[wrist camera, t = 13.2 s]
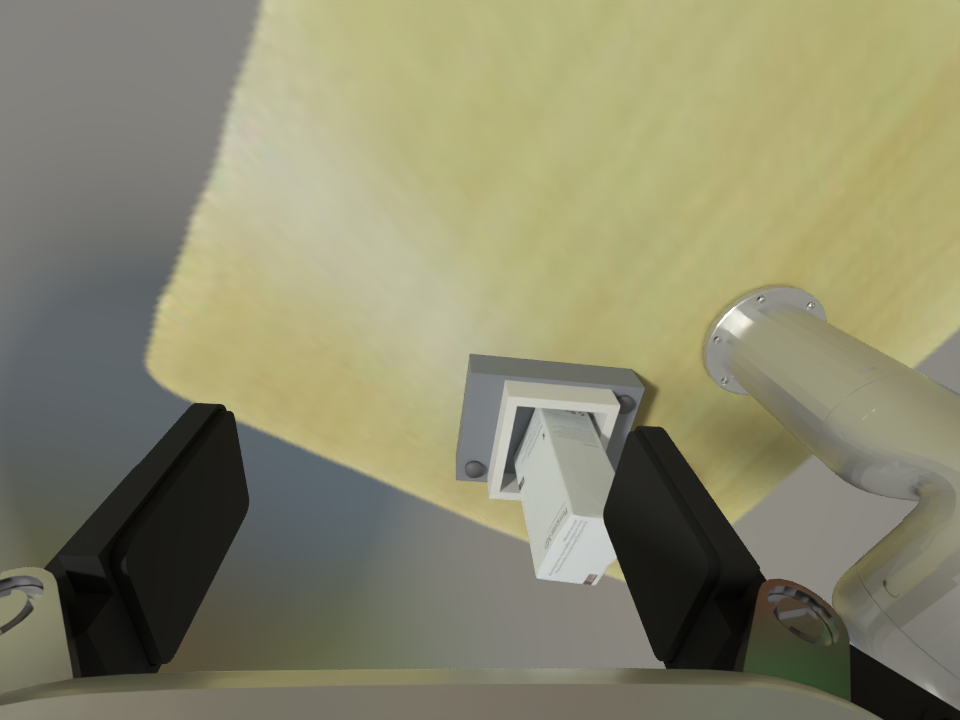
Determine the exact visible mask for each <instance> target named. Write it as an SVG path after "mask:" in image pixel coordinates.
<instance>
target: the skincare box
mask: <svg viewBox="0 0 960 720" xmlns="http://www.w3.org/2000/svg"><path fill="white" fill-rule="evenodd" d="M514 464H515V469H516V475H517V480H518V485H519V490H520V496H521V500H522V506H523V511H524V516H525V521H526V526H527V531H528V536H529V541H530V546H531V551H532V557H533V563H534V567H535V574H536V577H537V578H539V579H545V580H553V581H563V582H571V583H578V584H589V585H596V584H597V583H598V581H599V580H600V578H601V576H602V575H603V573H604V572H605V570H606V569H607V567H608V566H609V565H610V564H611V563H612V562H614V561H615V560H616V558H617V556H616V553H615V551H614V548H613V546H612V543H611V540H610V538H609V535H608V533H607V530H606V527H605V525H604V520H603V510H604V506H605V503H606V500H607V497H608V494H609V491H610V488H611V485H612V482H613V478H614V475H615V472H614V469H613V467H612V465H611V463H610V461H609V459H608V456H607V454H606V452H605V450H604V447H603V445H602V443H601V441H600V439H599V436H598V434H597V432H596V429H595V427H594V425H593V423H592V421H591V418H590V416H589V414H588V412H584V411H572V410H560V409H548V408H536V407H535V411H534V413H533V416H532V418H531V421H530V423H529V426H528V428H527V430H526V432H525V435H524V437H523V439H522V441H521V443H520V445H519V447H518V449H517V451H516V453H515V455H514Z"/></svg>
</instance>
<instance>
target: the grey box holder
mask: <svg viewBox="0 0 960 720" xmlns="http://www.w3.org/2000/svg"><path fill="white" fill-rule="evenodd" d="M644 390H645V387H644V386H643V384H642V383H641V382H640V380H639V379H638V377H637V376H636V375H635V373H634V372H633V370H632V369H624V368H613V367H603V366H592V365H581V364H571V363H560V362H550V361H539V360H528V359H518V358H507V357H497V356H486V355H476V354H470V356H469V364H468V371H467V379H466V386H465V393H464V401H463V408H462V415H461V423H460V430H459V437H458V445H457V452H456V480H461V481H477V482H488V492H489V498H490V499H507V500H521V496H520V490H519V485H518V480H517V475H516V469H515V464H514V455H515V453H516V451H517V449H518V447H519V445H520V443H521V441H522V439H523V437H524V435H525V432H526V430H527V428H528V426H529V423H530V421H531V418H532V416H533V413H534V411H535V407H536V408H548V409H560V410H572V411H584V412H588V414H589V416H590V418H591V421H592V423H593V425H594V427H595V429H596V432H597V434H598V436H599V439H600V441H601V443H602V445H603V447H604V450H605V452H606V454H607V456H608V459H609V461H610V463H611V465H612V467H613V469H614V472H616V469H617V466H618V463H619V460H620V457H621V454H622V451H623V447H624V444H625V441H626V438H627V435H628V433H629V432H630V430H631V427H632V424H633V421H634V419H635V416H636V413H637V410H638V407H639V404H640V401H641V399H642V396H643V393H644Z"/></svg>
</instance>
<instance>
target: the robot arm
mask: <svg viewBox="0 0 960 720" xmlns="http://www.w3.org/2000/svg"><path fill="white" fill-rule="evenodd" d="M703 363H704V367H705V369H706V371H707V373H708V375H709V376H710V377H711V378H712V379H713V381H714V382H715V383H716V384H718V385H719V386H720V387H721V388H723V389H725V390H727V391H729V392H733V393H736V394H745V395H751V396H752V397H753V398H754V399H756V400H757V401H758V402H759V403H760V404H761V405H762V406H763V407H764V408H765V409H766V410H767V411H768V412H769V413H770V414H772V415H773V416H774V417H775V418H776V419H777V420H778V421H779V422H780V423H781V424H782V425H783V426H784V427H785V428H787V429H788V430H789V431H790V432H791V433H792V434H793V435H794V436H795V437H796V438H797V439H798V440H799V441H800V442H802V443H803V444H804V445H805V446H806V447H807V448H808V449H809V450H810V451H811V452H812V453H813V454H814V455H815V456H817V457H818V458H819V459H820V460H821V461H822V462H824V464H825V465H827V466H828V467H829V468H830V469H831V470H832V471H833V472H835V474H836V475H838V476H839V477H840V478H842V479H843V480H844V481H846V482H848V483H849V484H851V485H853V486H855V487H857V488H859V489H861V490H864V491H866V492H869V493H874V494H877V495H880V496H885V497H891V498H897V499H903V500H912V501H919V503H918V505H917V506H916V508H914V509H913V510H912V511H911V512H910V513H909V514H908V515H907V516H906V517H905V518H904V519H903V521H902V522H901V523H900V524H899V525H898V526H897V527H895V528H894V529H893V530H892V531H891V532H890V533H889V534H888V535H886V536H885V537H884V538H883V539H882V540H881V541H880V542H879V543H877V544H876V545H875V546H874V547H873V548H872V549H870V550H869V551H868V552H867V553H866V554H865V555H864V556H862V557H861V558H860V559H859V560H858V561H857V562H856V563H855V564H854V565H853V566H852V567H851V568H849V570H848V571H847V572H846V573H845V574H844V575H843V576H842V577H841V578H840V580H839V581H838V582H837V584H836V585H835V588H834V590H833V594H832V606H833V608H832V607H831V605H829V604H828V603H827V602H826V601H825V600H823V599H822V598H821V597H820V596H819V595H817V594H816V593H814V592H812V591H811V590H809V589H808V588H806V587H804V586H802V585H799V584H797V583H795V582H793V581H788V580H784V579H769V580H766V579H765V578H764V576H763V574H762V573H761V572H760V570H759V569H760V567H759V565H758V564H757V562H756V561H755V559H754V558H753V557H752V555H751V554H750V552H749V551H748V549H747V548H746V546H745V545H744V544H743V542H742V541H741V539H740V538H739V536H738V535H737V534H736V532H735V531H734V529H733V528H732V526H731V525H730V523H729V522H728V520H727V519H726V518H725V516H724V515H723V513H722V512H721V510H720V509H719V507H718V506H717V505H716V503H715V502H714V500H713V499H712V497H711V496H710V494H709V493H708V492H707V490H706V489H705V487H704V486H703V484H702V483H701V481H700V480H699V479H698V477H697V476H696V474H695V473H694V471H693V470H692V468H691V467H690V466H689V464H688V463H687V461H686V460H685V458H684V457H683V455H682V454H681V453H680V451H679V450H678V448H677V447H676V445H675V444H674V442H673V441H672V440H671V438H670V437H669V435H668V434H667V432H666V431H665V430H664V429H663V428H662V427H651V426H638V427H637V428H636V429H635V430H634V431H631V432H629V433H628V435H627V438H626V441H625V444H624V447H623V451H622V454H621V457H620V460H619V463H618V466H617V469H616V472H615V475H614V478H613V482H612V485H611V488H610V491H609V494H608V497H607V500H606V503H605V506H604V510H603V520H604V525H605V527H606V530H607V533H608V535H609V538H610V540H611V543H612V546H613V548H614V551H615V553H616V556H617V559H618V561H619V564H620V567H621V569H622V572H623V574H624V577H625V580H626V582H627V585H628V587H629V590H630V593H631V595H632V598H633V600H634V603H635V606H636V608H637V611H638V613H639V616H640V619H641V621H642V624H643V626H644V629H645V631H646V634H647V637H648V639H649V642H650V645H651V647H652V650H653V652H654V655H655V656H656V658H657V659H658V660H659V661H663V662H664V664H665V667H666V669H637V668H608V669H607V668H603V669H602V668H591V669H590V668H586V669H585V668H579V669H578V668H574V669H573V668H569V669H568V668H565V669H562V668H561V669H560V668H558V669H384V670H379V669H378V670H295V671H294V670H291V671H218V672H183V673H157V672H158V670H159V668H160V666H161V664H167V663H168V662H170V661H171V660H172V659H173V657H174V655H175V654H176V652H177V649H178V648H179V646H180V644H181V642H182V640H183V638H184V636H185V634H186V632H187V630H188V628H189V626H190V624H191V622H192V620H193V618H194V616H195V614H196V612H197V610H198V608H199V606H200V604H201V602H202V601H203V598H204V596H205V595H206V593H207V591H208V589H209V587H210V585H211V582H212V581H213V579H214V576H215V575H216V573H217V571H218V569H219V567H220V565H221V563H222V561H223V559H224V557H225V555H226V553H227V551H228V549H229V547H230V545H231V543H232V541H233V539H234V537H235V535H236V534H237V532H238V530H239V528H240V525H241V524H242V522H243V520H244V518H245V516H246V513H247V511H248V506H249V495H248V490H247V484H246V478H245V473H244V467H243V462H242V456H241V450H240V445H239V439H238V433H237V428H236V422H235V417H234V414H233V412H231V411H227V410H226V408H225V406H224V405H222V404H207V403H194V404H193V405H191V406H190V407H189V408H188V410H187V411H186V412H185V413H184V414H183V415H182V416H181V417H180V418H179V420H178V421H177V422H176V423H175V424H174V425H173V426H172V428H171V429H170V430H169V431H168V432H167V433H166V434H165V435H164V436H163V438H162V439H161V440H160V441H159V442H158V443H157V444H156V446H155V447H154V448H153V449H152V450H151V451H150V452H149V453H148V455H147V456H146V457H145V458H144V459H143V460H142V461H141V462H140V463H139V464H138V465H137V466H136V467H135V468H133V470H132V471H131V472H130V473H129V474H128V475H127V476H126V477H125V479H124V480H123V481H122V482H121V483H120V484H119V485H118V486H117V488H116V489H115V490H114V491H113V492H112V493H111V494H110V495H109V496H108V498H107V499H106V500H105V501H104V502H103V503H102V504H101V506H100V507H99V508H98V509H97V510H96V511H95V512H94V513H93V514H92V515H91V516H90V518H89V519H88V520H87V521H86V522H85V523H84V524H83V525H82V527H81V528H80V529H79V530H78V531H77V532H76V533H75V534H74V535H73V537H72V538H71V539H70V540H69V541H68V542H67V543H66V545H65V546H64V547H63V548H62V549H61V550H60V551H59V552H58V553H57V554H56V556H55V557H54V558H53V559H52V560H51V561H50V562H49V563H48V565H47V566H46V567H45V568H44V569H42V568H32V567H26V568H19V569H12V570H9V571H5V572H2V573H0V720H960V394H959V393H957V392H955V391H953V390H951V389H949V388H948V387H946V386H944V385H942V384H940V383H938V382H936V381H935V380H933V379H931V378H929V377H926V376H924V375H923V374H921V373H919V372H917V371H915V370H914V369H912V368H910V367H908V366H906V365H904V364H903V363H901V362H899V361H897V360H895V359H893V358H892V357H890V356H888V355H886V354H884V353H882V352H880V351H879V350H877V349H875V348H873V347H871V346H869V345H868V344H866V343H864V342H862V341H860V340H858V339H857V338H855V337H853V336H851V335H849V334H847V333H846V332H844V331H842V330H840V329H838V328H836V327H835V326H833V325H831V324H829V323H827V322H826V315H825V312H824V309H823V307H822V306H821V304H820V302H819V301H818V300H817V299H816V298H815V297H814V296H812V295H811V294H809V293H807V292H805V291H804V290H802V289H799V288H796V287H793V286H786V285H774V286H767V287H763V288H759V289H756V290H754V291H751V292H749V293H747V294H745V295H743V296H741V297H740V298H738V299H736V300H735V301H734V302H732V303H731V304H730V305H729V306H728V307H726V308H725V309H724V310H723V311H722V312H721V313H720V315H719V316H718V317H717V318H716V319H715V321H714V322H713V324H712V325H711V327H710V329H709V331H708V333H707V335H706V338H705V341H704V345H703ZM850 641H851V643H852V644H853V645H854V646H855V647H854V646H852V645H851V644H850Z"/></svg>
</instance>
